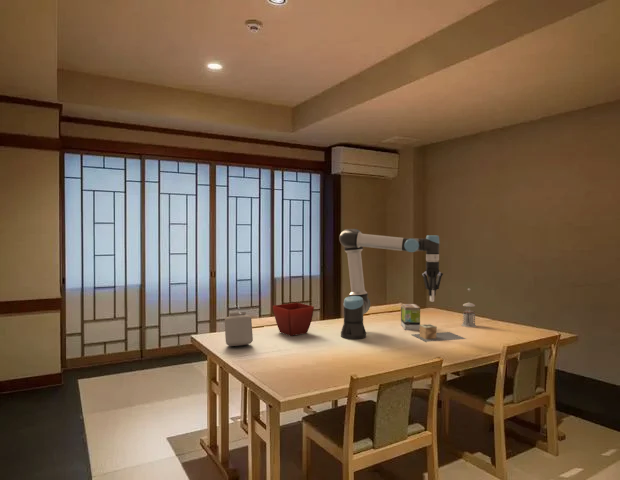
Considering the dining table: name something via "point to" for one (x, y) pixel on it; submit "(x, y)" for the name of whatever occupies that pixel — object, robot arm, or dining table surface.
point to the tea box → (410, 316)
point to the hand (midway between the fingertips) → (431, 301)
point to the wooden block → (428, 331)
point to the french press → (468, 316)
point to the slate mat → (440, 337)
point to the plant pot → (293, 318)
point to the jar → (238, 329)
